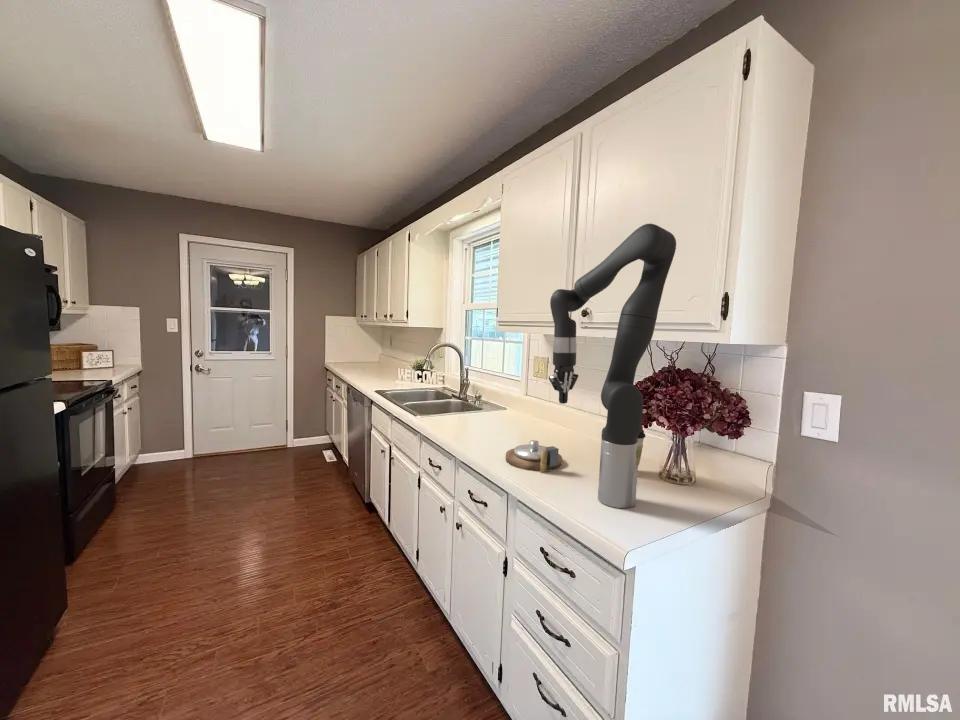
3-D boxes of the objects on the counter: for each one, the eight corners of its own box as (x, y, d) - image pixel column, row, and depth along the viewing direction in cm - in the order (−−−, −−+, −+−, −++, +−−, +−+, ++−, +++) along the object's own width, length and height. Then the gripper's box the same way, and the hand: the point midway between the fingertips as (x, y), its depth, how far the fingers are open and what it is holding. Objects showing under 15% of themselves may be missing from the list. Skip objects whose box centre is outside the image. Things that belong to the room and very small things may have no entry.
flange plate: (507, 450, 144) (507, 435, 144) (539, 447, 150) (540, 432, 149) (535, 468, 126) (536, 451, 126) (571, 463, 132) (572, 447, 131)
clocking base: (558, 453, 150) (559, 435, 149) (566, 474, 128) (567, 453, 128) (506, 450, 151) (506, 432, 151) (504, 470, 130) (505, 449, 129)
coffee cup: (615, 476, 128) (618, 431, 127) (608, 466, 138) (611, 424, 136) (646, 479, 127) (649, 433, 126) (638, 468, 136) (640, 426, 135)
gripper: (568, 350, 136) (566, 399, 137) (542, 351, 128) (541, 403, 129) (586, 351, 130) (584, 402, 132) (560, 352, 122) (559, 407, 123)
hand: (563, 403), depth 130 cm, fingers closed
